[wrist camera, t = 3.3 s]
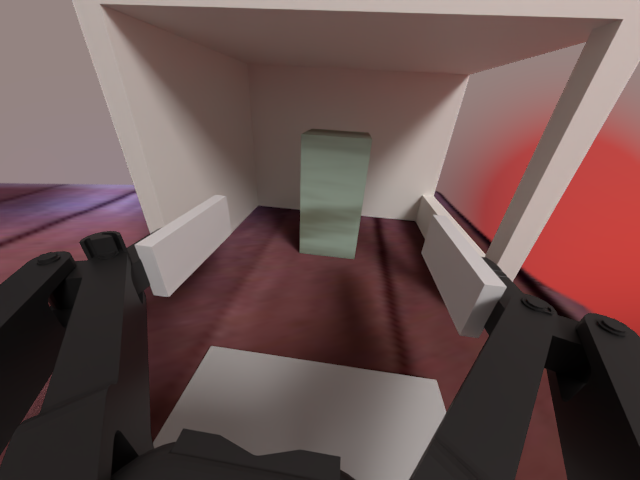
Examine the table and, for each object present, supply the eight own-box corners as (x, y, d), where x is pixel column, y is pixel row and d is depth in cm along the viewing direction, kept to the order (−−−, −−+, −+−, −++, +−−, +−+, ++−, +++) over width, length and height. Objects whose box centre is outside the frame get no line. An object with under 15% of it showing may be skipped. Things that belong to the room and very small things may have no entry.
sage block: (354, 259, 26) (372, 139, 20) (299, 252, 26) (301, 133, 20) (354, 233, 31) (368, 132, 25) (308, 228, 31) (311, 128, 25)
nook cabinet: (488, 323, 19) (693, -32, 9) (166, 281, 21) (58, -40, 11) (423, 218, 36) (469, 60, 27) (252, 201, 39) (238, 49, 29)
